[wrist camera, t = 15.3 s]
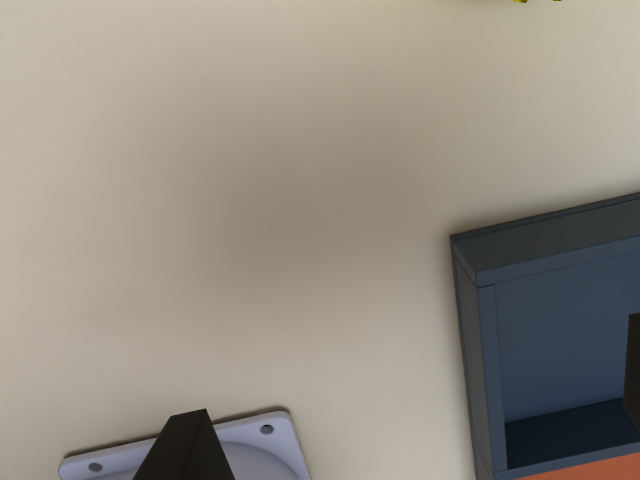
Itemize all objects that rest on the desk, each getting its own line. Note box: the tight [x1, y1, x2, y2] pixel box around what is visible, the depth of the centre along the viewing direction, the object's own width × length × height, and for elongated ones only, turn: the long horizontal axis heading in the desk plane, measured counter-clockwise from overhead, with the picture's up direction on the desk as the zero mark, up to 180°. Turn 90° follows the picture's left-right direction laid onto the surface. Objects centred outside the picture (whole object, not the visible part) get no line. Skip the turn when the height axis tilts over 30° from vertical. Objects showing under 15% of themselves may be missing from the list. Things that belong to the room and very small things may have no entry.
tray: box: [450, 193, 640, 480], centre depth 21 cm, size 19×10×3 cm, turn 12°
